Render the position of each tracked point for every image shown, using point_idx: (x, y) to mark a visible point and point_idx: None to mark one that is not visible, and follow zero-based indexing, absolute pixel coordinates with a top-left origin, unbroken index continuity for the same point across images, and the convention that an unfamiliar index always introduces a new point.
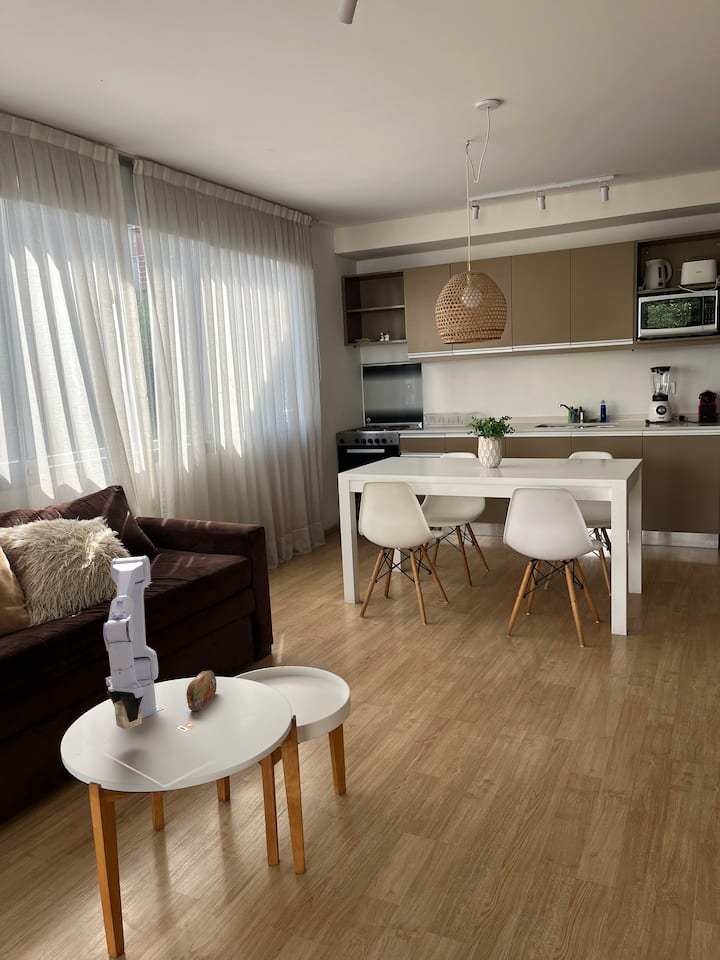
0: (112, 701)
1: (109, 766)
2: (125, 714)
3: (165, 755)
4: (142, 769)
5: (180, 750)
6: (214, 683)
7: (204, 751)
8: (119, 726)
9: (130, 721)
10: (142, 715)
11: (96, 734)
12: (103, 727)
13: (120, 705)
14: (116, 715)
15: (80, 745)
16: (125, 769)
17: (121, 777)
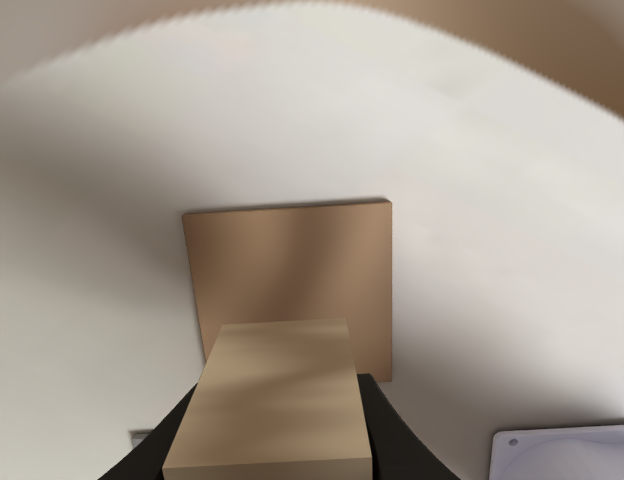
0: (428, 462)
1: (176, 136)
2: (191, 410)
3: (83, 353)
4: (25, 229)
5: (81, 409)
6: None
7: (2, 457)
8: (307, 321)
9: (193, 387)
10: (512, 462)
11: (565, 252)
12: (599, 307)
13: (238, 467)
14: (338, 366)
15: (534, 140)
16: (84, 175)
17: (15, 122)
